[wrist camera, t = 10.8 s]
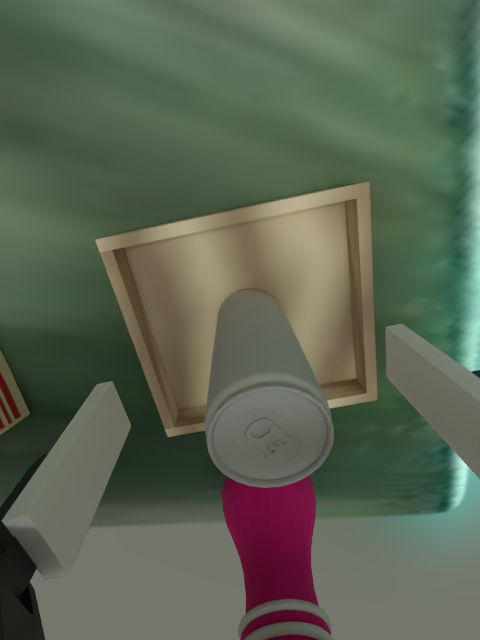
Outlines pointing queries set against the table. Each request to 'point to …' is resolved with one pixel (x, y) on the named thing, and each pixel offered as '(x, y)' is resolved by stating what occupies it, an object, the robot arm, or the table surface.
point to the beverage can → (263, 397)
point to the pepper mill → (276, 560)
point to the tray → (244, 274)
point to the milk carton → (10, 399)
